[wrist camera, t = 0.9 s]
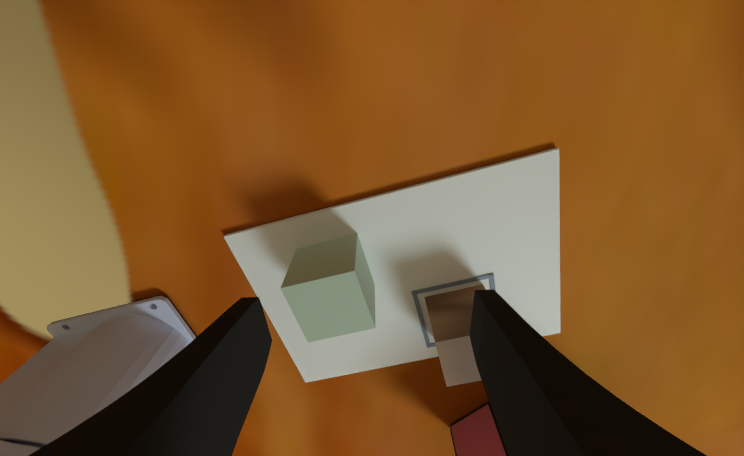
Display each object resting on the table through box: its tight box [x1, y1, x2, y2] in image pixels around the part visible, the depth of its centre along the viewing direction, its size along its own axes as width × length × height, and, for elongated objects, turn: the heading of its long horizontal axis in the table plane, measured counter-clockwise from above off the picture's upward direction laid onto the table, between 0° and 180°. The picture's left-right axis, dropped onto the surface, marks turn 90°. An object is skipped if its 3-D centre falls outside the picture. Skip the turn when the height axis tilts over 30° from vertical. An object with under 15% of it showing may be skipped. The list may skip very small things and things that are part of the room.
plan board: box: [224, 148, 560, 382], centre depth 21 cm, size 20×14×1 cm
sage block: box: [280, 234, 376, 342], centre depth 19 cm, size 4×4×4 cm
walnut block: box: [425, 284, 486, 387], centre depth 20 cm, size 4×4×4 cm
